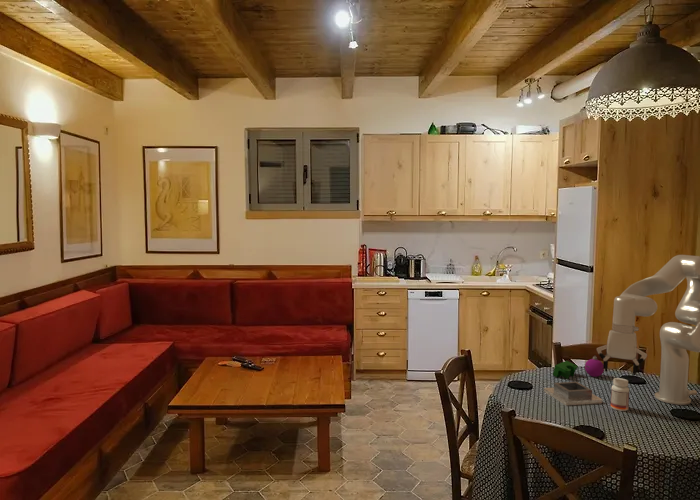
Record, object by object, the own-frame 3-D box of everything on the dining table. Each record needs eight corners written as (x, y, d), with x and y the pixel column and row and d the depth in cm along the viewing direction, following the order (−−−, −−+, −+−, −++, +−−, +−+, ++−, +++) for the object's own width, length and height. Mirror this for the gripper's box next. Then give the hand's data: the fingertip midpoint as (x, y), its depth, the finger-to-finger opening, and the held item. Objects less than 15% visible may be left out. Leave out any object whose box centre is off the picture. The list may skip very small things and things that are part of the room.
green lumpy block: (564, 388, 240) (565, 373, 236) (552, 381, 244) (553, 367, 240) (577, 373, 246) (579, 359, 242) (565, 367, 250) (567, 353, 246)
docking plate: (578, 389, 225) (578, 379, 225) (602, 403, 210) (602, 392, 209) (543, 391, 223) (544, 381, 222) (565, 405, 207) (566, 394, 207)
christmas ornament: (584, 372, 249) (585, 351, 248) (603, 375, 245) (604, 353, 245) (584, 377, 241) (585, 356, 240) (604, 380, 238) (605, 358, 237)
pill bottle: (617, 404, 208) (619, 376, 208) (631, 409, 203) (633, 381, 202) (606, 407, 206) (608, 378, 205) (621, 412, 200) (622, 383, 199)
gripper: (647, 329, 202) (644, 373, 203) (597, 324, 209) (595, 366, 210) (650, 333, 195) (646, 378, 196) (598, 327, 202) (595, 371, 203)
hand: (619, 372), depth 203 cm, fingers open, 9 cm apart
